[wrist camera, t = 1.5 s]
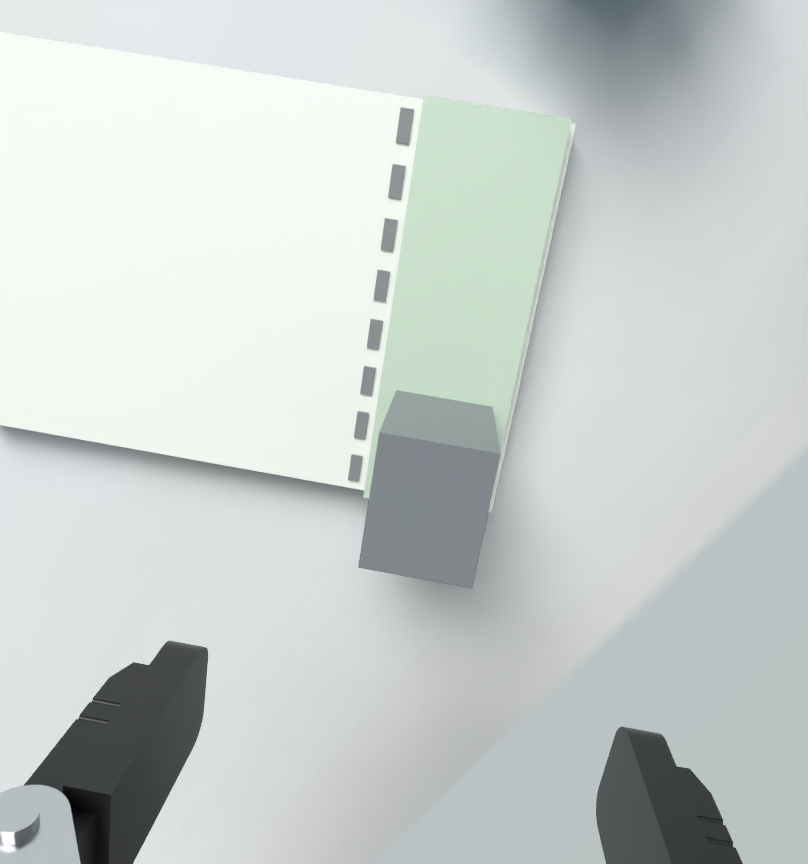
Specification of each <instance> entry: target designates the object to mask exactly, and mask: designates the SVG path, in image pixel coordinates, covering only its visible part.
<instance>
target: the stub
mask: <svg viewBox="0 0 808 864" xmlns="http://www.w3.org/2000/svg"><path fill="white" fill-rule="evenodd" d="M570 124H571V119H570V118H563V117H557V116H551V115H544V114H538V113H532V112H526V111H519V110H513V109H507V108H500V107H494V106H488V105H482V104H475V103H469V102H463V101H456V100H450V99H444V98H438V97H431V96H425V95H424V97H423V104H422V110H421V117H420V124H419V130H418V137H417V143H416V150H415V157H414V163H413V170H412V177H411V183H410V190H409V197H408V203H407V210H406V216H405V223H404V230H403V236H402V243H401V250H400V256H399V263H398V270H397V276H396V283H395V289H394V296H393V303H392V309H391V316H390V323H389V329H388V336H387V343H386V349H385V356H384V362H383V369H382V376H381V382H380V389H379V396H378V402H377V409H376V416H375V422H374V429H373V435H372V442H371V449H370V455H369V462H368V469H367V475H366V482H365V488H364V495H363V498H368V499H369V501H368V508H367V515H366V521H365V528H364V534H363V541H362V547H361V554H360V560H359V567H358V568H364V569H369V570H375V571H380V572H386V573H391V574H397V575H402V576H407V577H413V578H418V579H424V580H429V581H435V582H440V583H446V584H451V585H456V586H462V587H467V588H472V585H473V581H474V576H475V572H476V567H477V562H478V558H479V553H480V548H481V544H482V539H483V534H484V530H485V525H486V520H487V516H488V511H489V506H490V502H491V497H492V492H493V488H494V483H495V478H496V474H497V469H498V464H499V460H500V455H501V452H500V451H501V446H502V441H503V437H504V432H505V427H506V423H507V418H508V413H509V409H510V404H511V399H512V395H513V390H514V385H515V381H516V376H517V371H518V367H519V362H520V357H521V353H522V348H523V343H524V339H525V334H526V329H527V325H528V320H529V315H530V311H531V306H532V301H533V297H534V292H535V287H536V283H537V278H538V273H539V269H540V264H541V259H542V255H543V250H544V245H545V241H546V236H547V231H548V227H549V222H550V217H551V213H552V208H553V203H554V199H555V194H556V189H557V185H558V180H559V175H560V171H561V166H562V161H563V157H564V152H565V147H566V143H567V138H568V133H569V129H570Z"/></svg>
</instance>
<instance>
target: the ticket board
mask: <svg viewBox="0 0 808 864" xmlns="http://www.w3.org/2000/svg"><path fill="white" fill-rule="evenodd" d="M422 104H423V99H418V98H412V97H406V96H399V95H393V94H387V93H381V92H374V91H368V90H362V89H355V88H349V87H343V86H337V85H330V84H324V83H318V82H312V81H305V80H299V79H293V78H286V77H280V76H274V75H268V74H261V73H255V72H249V71H242V70H236V69H230V68H224V67H217V66H211V65H205V64H199V63H192V62H186V61H180V60H173V59H167V58H161V57H155V56H148V55H142V54H136V53H129V52H123V51H117V50H111V49H104V48H98V47H92V46H85V45H79V44H73V43H67V42H60V41H54V40H48V39H42V38H35V37H29V36H23V35H16V34H10V33H4V32H0V425H3V426H8V427H14V428H19V429H25V430H31V431H36V432H42V433H47V434H53V435H58V436H64V437H70V438H75V439H81V440H86V441H92V442H97V443H103V444H108V445H114V446H120V447H125V448H131V449H136V450H142V451H147V452H153V453H159V454H164V455H170V456H175V457H181V458H186V459H192V460H197V461H203V462H209V463H214V464H220V465H225V466H231V467H236V468H242V469H248V470H253V471H259V472H264V473H270V474H275V475H281V476H287V477H292V478H298V479H303V480H309V481H314V482H320V483H325V484H331V485H337V486H342V487H348V488H353V489H359V490H364V488H365V482H366V475H367V469H368V462H369V455H370V449H371V442H372V435H373V429H374V422H375V416H376V409H377V402H378V396H379V389H380V382H381V376H382V369H383V362H384V356H385V349H386V343H387V336H388V329H389V323H390V316H391V309H392V303H393V296H394V289H395V283H396V276H397V270H398V263H399V256H400V250H401V243H402V236H403V230H404V223H405V216H406V210H407V203H408V197H409V190H410V183H411V177H412V170H413V163H414V157H415V150H416V143H417V137H418V130H419V124H420V117H421V110H422ZM575 127H576V124H575V123H571V124H570V129H569V133H568V138H567V143H566V147H565V152H564V157H563V161H562V166H561V171H560V175H559V180H558V185H557V189H556V194H555V199H554V203H553V208H552V213H551V217H550V222H549V227H548V231H547V236H546V241H545V245H544V250H543V255H542V259H541V264H540V269H539V273H538V278H537V283H536V287H535V292H534V297H533V301H532V306H531V311H530V315H529V320H528V325H527V329H526V334H525V339H524V343H523V348H522V353H521V357H520V362H519V367H518V371H517V376H516V381H515V385H514V390H513V395H512V399H511V404H510V409H509V413H508V418H507V423H506V427H505V432H504V437H503V441H502V446H501V451H500V452H501V455H500V460H499V464H498V469H497V474H496V478H495V483H494V488H493V492H492V497H491V502H490V506H489V511H488V513H492V510H493V505H494V501H495V496H496V492H497V487H498V482H499V478H500V473H501V468H502V464H503V459H504V455H505V450H506V445H507V441H508V436H509V432H510V427H511V422H512V418H513V413H514V408H515V404H516V399H517V395H518V390H519V385H520V381H521V376H522V372H523V367H524V362H525V358H526V353H527V348H528V344H529V339H530V335H531V330H532V325H533V321H534V316H535V312H536V307H537V302H538V298H539V293H540V288H541V284H542V279H543V275H544V270H545V265H546V261H547V256H548V252H549V247H550V242H551V238H552V233H553V228H554V224H555V219H556V215H557V210H558V205H559V201H560V196H561V192H562V187H563V182H564V178H565V173H566V168H567V164H568V159H569V155H570V150H571V145H572V141H573V136H574V132H575Z"/></svg>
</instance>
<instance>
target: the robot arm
mask: <svg viewBox="0 0 808 864" xmlns="http://www.w3.org/2000/svg"><path fill="white" fill-rule="evenodd" d="M207 663H208V650H207V648H206V647H201V646H195V645H190V644H185V643H179V642H174V641H168V642H166V643H165V644H164V646H163V647H162V648H161V650H160V651H159V653H158V654H157V655H156V657H155V658H154V659H153V661H152V662H151V664H150V665H144V664H139V663H134V662H133V663H132V664H130V665H129V666H127V667H126V668H124V669H122V670H121V671H119V672H118V673H116V674H115V675H113V676H111V677H110V678H109V679H108V680H107V681H106V683H105V684H104V685H103V686H102V688H101V689H100V690H99V691H98V693H97V694H96V695H95V696H94V698H93V701H92V703H91V702H90V703H89V704H88V705H87V707H86V708H85V709H84V710H83V712H82V713H81V714H80V717H79V719H78V720H77V719H76V720H75V722H74V723H73V724H72V725H71V727H70V728H69V729H68V731H67V732H66V733H65V734H64V736H63V737H62V738H61V739H60V741H59V742H58V743H57V744H56V746H55V747H54V748H53V749H52V751H51V752H50V753H49V755H48V756H47V757H46V758H45V760H44V761H43V762H42V763H41V765H40V766H39V767H38V768H37V770H36V771H35V772H34V773H33V775H32V776H31V777H30V778H29V780H28V781H27V782H26V783H25V785H24V786H20V787H16V788H12V789H9V790H6V791H4V792H2V793H0V864H133V862H134V860H135V858H136V856H137V855H138V853H139V851H140V849H141V847H142V845H143V843H144V841H145V839H146V837H147V835H148V833H149V831H150V830H151V828H152V826H153V824H154V822H155V820H156V818H157V816H158V814H159V812H160V810H161V808H162V806H163V805H164V803H165V801H166V799H167V797H168V795H169V793H170V791H171V789H172V787H173V785H174V783H175V781H176V780H177V778H178V776H179V774H180V772H181V770H182V768H183V766H184V764H185V762H186V760H187V758H188V756H189V755H190V753H191V751H192V749H193V747H194V745H195V742H196V740H197V737H198V734H199V731H200V727H201V723H202V718H203V712H204V700H205V688H206V675H207ZM596 816H597V825H598V830H599V834H600V839H601V843H602V847H603V852H604V855H605V860H606V864H743V863H742V861H741V860H740V857H739V854H738V852H737V850H736V848H733V841H732V839H731V837H730V835H729V832H728V830H727V828H726V826H725V825H723V819H722V817H721V814H720V812H719V810H718V808H717V806H716V804H715V801H714V799H713V797H712V794H711V793H710V792H709V791H708V790H707V788H706V787H705V786H704V785H703V784H702V783H701V781H700V780H699V779H698V778H697V777H696V776H695V774H694V773H693V772H692V771H691V770H690V769H688V768H682V767H677V766H676V764H675V762H674V759H673V757H672V755H671V752H670V750H669V747H668V745H667V742H666V740H665V738H664V737H663V736H662V735H661V734H658V733H653V732H647V731H642V730H637V729H631V728H626V727H620V728H619V729H618V730H617V732H616V735H615V738H614V741H613V744H612V747H611V751H610V753H609V757H608V760H607V763H606V766H605V770H604V773H603V776H602V779H601V783H600V786H599V789H598V794H597V803H596Z"/></svg>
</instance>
